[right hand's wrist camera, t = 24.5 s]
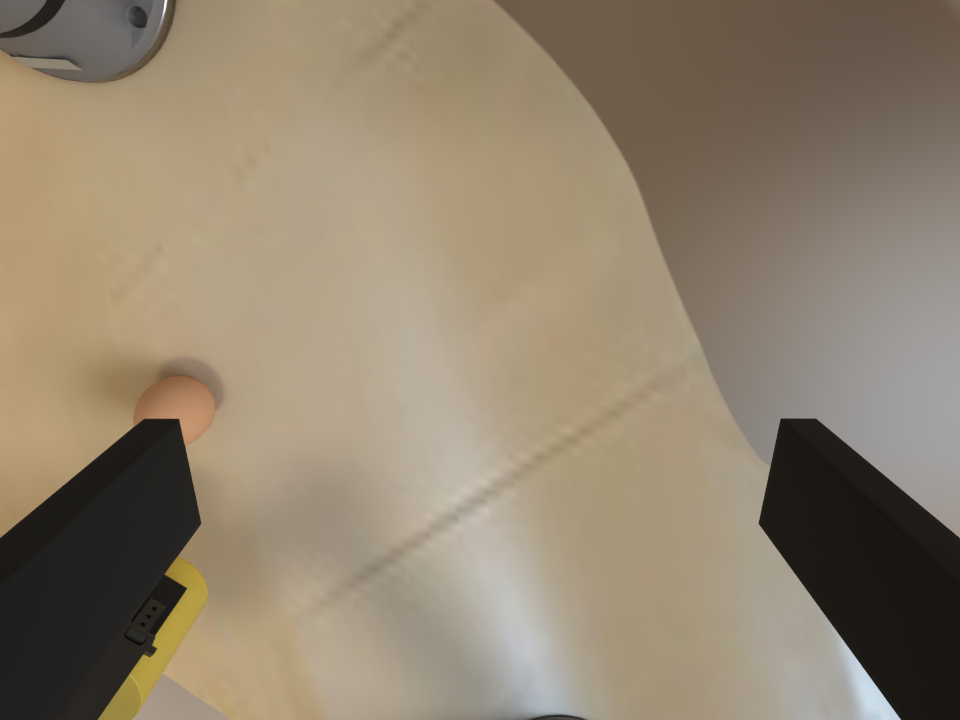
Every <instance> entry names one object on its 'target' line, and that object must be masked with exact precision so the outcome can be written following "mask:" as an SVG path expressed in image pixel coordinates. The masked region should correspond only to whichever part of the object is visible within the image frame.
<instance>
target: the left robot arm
mask: <svg viewBox="0 0 960 720" xmlns="http://www.w3.org/2000/svg"><path fill="white" fill-rule="evenodd" d="M187 589H188V588H186V587H185V586H183V585H181V584H180V583H178V582H176V581H175V580H173V579H171V578H170V577H168V576H166V575H165V574H164V576H163V577H162V578H161V580H160V581H159V583H158V584H157V585H156V587H155V588H154V589H153V591H152V592H151V594H150V595H149V596H148V598H147V599H146V600H145V602H144V603H143V605H142V606H141V607H140V609H139V610H138V611H137V613H136V614H135V616H134V617H133V618H132V620H131V621H130V622H129V624H128V625H127V627H126V628H125V629H124V631H123V632H122V634H121V635H120V636H119V638H118V639H117V640H116V642H115V643H114V645H113V646H112V647H111V649H110V650H109V651H108V653H107V654H106V656H105V657H104V658H103V660H102V661H101V662H100V664H99V665H98V667H97V668H96V669H95V671H94V672H93V673H92V675H91V676H90V678H89V679H88V680H87V682H86V683H85V684H84V686H83V687H82V689H81V690H80V691H79V693H78V694H77V695H76V697H75V698H74V700H73V701H72V702H71V704H70V705H69V707H68V708H67V709H66V711H65V712H64V713H63V715H62V716H61V718H60V719H59V720H98V719H99V717H100V716H101V714H102V713H103V712H104V710H105V709H106V707H107V706H108V704H109V703H110V702H111V700H112V699H113V697H114V696H115V694H116V693H117V692H118V690H119V689H120V687H121V686H122V684H123V683H124V682H125V680H126V679H127V677H128V676H129V674H130V673H131V672H132V670H133V669H134V667H135V666H136V664H137V663H138V661H139V660H140V659H141V657H142V656H143V654H144V655H146V656H148V657H151V656H153V655H154V653H155V652H156V650H157V648H156V647H154V646H153V645H152V644H153V643H154V642H153V641H154V640H155V637H156V636H155V635H156V634H157V632H158V631H159V630H160V628H161V627H162V625H163V624H164V622H165V621H166V619H167V618H168V616H169V615H170V613H171V612H172V611H173V609H174V608H175V606H176V605H177V603H178V602H179V600H180V599H181V597H182V596H183V594H184V593H185V591H186V590H187ZM537 720H581V719H577V718H572V717H547V718H541V719H537Z"/></svg>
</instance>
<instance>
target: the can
mask: <svg viewBox="0 0 960 720" xmlns="http://www.w3.org/2000/svg"><path fill="white" fill-rule="evenodd" d="M165 575H166V576H168V577H170V578H171V579H173V580H175V581H176V582H178V583H180V584H181V585H183V586H185V587H186V588H188V589H187V590H186V591H185V593H184V594H183V596H182V597H181V599H180V600H179V602H178V603H177V605H176V606H175V608H174V609H173V611H172V612H171V613H170V615H169V616H168V618H167V619H166V621H165V622H164V624H163V625H162V627H161V628H160V630H159V631H158V632H157V634H156V635H155V636H156V637H155V640H154V641H153V642H154V643H153V644H152V645H153V646H154V647H156V648H157V650H156V652H155V653H154V655H153V656H151V657H148V656H146V655H144V654H143V656H142V657H141V659H140V660H139V661H138V663H137V664H136V666H135V667H134V669H133V670H132V672H131V673H130V674H129V676H128V677H127V679H126V680H125V682H124V683H123V684H122V686H121V687H120V689H119V690H118V692H117V693H116V694H115V696H114V697H113V699H112V700H111V702H110V703H109V704H108V706H107V707H106V709H105V710H104V712H103V713H102V714H101V716H100V717H99V719H98V720H132V719H133V718H134V717H135V716H136V715H137V713H138V712H139V710H140V709H141V707H142V706H143V704H144V702H145V701H146V699H147V698H148V696H149V694H150V693H151V691H152V689H153V688H154V686H155V685H156V683H157V681H158V680H159V678H160V677H161V675H162V673H163V672H164V670H165V669H166V667H167V665H168V664H169V662H170V661H171V659H172V657H173V656H174V654H175V652H176V651H177V649H178V648H179V646H180V644H181V643H182V641H183V640H184V638H185V636H186V635H187V633H188V631H189V630H190V628H191V627H192V625H193V623H194V622H195V620H196V619H197V617H198V615H199V614H200V612H201V611H202V609H203V607H204V606H205V604H206V601H207V597H208V588H207V584H206V581H205V579H204V578H203V576H202V574H201V573H200V572H199V571H198V570H197V568H195V567H194V566H193V565H192V564H190V563H189V562H188V561H186V560H184V559H182V558H180V557H178V556H177V558H176V559H175V561H174V562H173V563H172V565H171V566H170V567H169V569H168V570H167V572H166V573H165Z"/></svg>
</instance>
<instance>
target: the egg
mask: <svg viewBox="0 0 960 720" xmlns="http://www.w3.org/2000/svg"><path fill="white" fill-rule="evenodd" d="M215 410H216V406H215V399H214V397H213V395H212V392H211V391H210V390H209V388H208V387H207V386H206V385H205V384H204V383H202V382H200V381H199V380H197V379H194V378H191V377H187V376H172V377H168V378H165V379H162V380H160V381H158V382H156V383H155V384H153V385H151V386H150V387H149V388H148V389H147V390H146V391H145V392H144V393H143V394H142V396H141V397H140V399H139V401H138V403H137V405H136V408H135V412H134V427H135V426H136V425H137V424H138V423H139V422H141V421H142V420H143V419H179V420H180V425H181V430H182V434H183V439H184V444H185V445H187V444H189V443H191V442H193V441H195V440H196V439H198V438H199V437H200V436H202V435H203V434H204V433H205V431H206V430H207V429H208V428H209V427H210V425H211V424H212V421H213V419H214V416H215Z"/></svg>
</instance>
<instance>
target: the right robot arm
mask: <svg viewBox="0 0 960 720" xmlns="http://www.w3.org/2000/svg"><path fill="white" fill-rule="evenodd" d="M175 3H176V0H0V49H1V50H3V51H4V52H5V53H7V54H8V55H10V56H11V57H12V58H14V59H16V60H17V61H19V62H21V63H22V64H24V65H26V66H28V67H31V68H33V69H35V70H38V71H40V72H43V73H45V74H48V75H51V76H53V77H57V78H61V79H65V80H72V81H79V82H86V83H104V82H110V81H115V80H119V79H122V78H125V77H127V76H129V75H131V74H133V73H135V72H136V71H138V70H140V69H141V68H142V67H143V66H145V65H146V64H147V63H148V62H149V61H150V60H151V59H152V58H153V57H154V56H155V55H156V53H157V52H158V51H159V49H160V48H161V46H162V44H163V43H164V41H165V39H166V37H167V35H168V32H169V29H170V27H171V24H172V20H173V16H174V11H175ZM200 525H201V520H200V515H199V510H198V505H197V501H196V496H195V491H194V486H193V482H192V477H191V472H190V467H189V463H188V458H187V453H186V448H185V444H184V439H183V434H182V430H181V425H180V420H179V419H143V420H142V421H141V422H139V423H138V424H137V425H136V426H135V427H133V428H132V429H131V430H130V431H129V432H127V433H126V434H125V435H124V436H123V437H121V438H120V439H119V440H118V441H117V442H115V443H114V444H113V445H112V446H111V447H109V448H108V449H107V450H106V451H105V452H103V453H102V454H101V455H100V456H98V457H97V458H96V459H95V460H94V461H92V462H91V463H90V464H89V465H88V466H86V467H85V468H84V469H83V470H82V471H80V472H79V473H78V474H77V475H76V476H74V477H73V478H72V479H71V480H70V481H68V482H67V483H66V484H65V485H64V486H62V487H61V488H60V489H59V490H58V491H56V492H55V493H54V494H53V495H52V496H50V497H49V498H48V499H47V500H45V501H44V502H43V503H42V504H41V505H39V506H38V507H37V508H36V509H35V510H33V511H32V512H31V513H30V514H29V515H27V516H26V517H25V518H24V519H23V520H21V521H20V522H19V523H18V524H17V525H15V526H14V527H13V528H12V529H11V530H9V531H8V532H7V533H6V534H5V535H3V536H2V537H1V538H0V720H59V719H60V718H61V716H62V715H63V713H64V712H65V711H66V709H67V708H68V707H69V705H70V704H71V702H72V701H73V700H74V698H75V697H76V695H77V694H78V693H79V691H80V690H81V689H82V687H83V686H84V684H85V683H86V682H87V680H88V679H89V678H90V676H91V675H92V673H93V672H94V671H95V669H96V668H97V667H98V665H99V664H100V662H101V661H102V660H103V658H104V657H105V656H106V654H107V653H108V651H109V650H110V649H111V647H112V646H113V645H114V643H115V642H116V640H117V639H118V638H119V636H120V635H121V634H122V632H123V631H124V629H125V628H126V627H127V625H128V624H129V622H130V621H131V620H132V618H133V617H134V616H135V614H136V613H137V611H138V610H139V609H140V607H141V606H142V605H143V603H144V602H145V600H146V599H147V598H148V596H149V595H150V594H151V592H152V591H153V589H154V588H155V587H156V585H157V584H158V583H159V581H160V580H161V578H162V577H163V576H164V574H165V573H166V572H167V570H168V569H169V567H170V566H171V565H172V563H173V562H174V561H175V559H176V558H177V556H178V555H179V554H180V552H181V551H182V550H183V548H184V547H185V545H186V544H187V543H188V541H189V540H190V538H191V537H192V536H193V534H194V533H195V532H196V530H197V529H198V527H199V526H200ZM759 525H760V526H761V527H762V529H763V530H764V532H765V533H766V534H767V536H768V537H769V538H770V540H771V541H772V543H773V544H774V545H775V547H776V548H777V550H778V551H779V552H780V554H781V555H782V556H783V558H784V559H785V561H786V562H787V563H788V565H789V566H790V567H791V569H792V570H793V572H794V573H795V574H796V576H797V577H798V578H799V580H800V581H801V583H802V584H803V585H804V587H805V588H806V589H807V591H808V592H809V594H810V595H811V596H812V598H813V599H814V600H815V602H816V603H817V605H818V606H819V607H820V609H821V610H822V611H823V613H824V614H825V616H826V617H827V618H828V620H829V621H830V622H831V624H832V625H833V627H834V628H835V629H836V631H837V632H838V634H839V635H840V636H841V638H842V639H843V640H844V642H845V643H846V645H847V646H848V647H849V649H850V650H851V651H852V653H853V654H854V656H855V657H856V658H857V660H858V661H859V662H860V664H861V665H862V667H863V668H864V669H865V671H866V672H867V673H868V675H869V676H870V678H871V679H872V680H873V682H874V683H875V684H876V686H877V687H878V689H879V690H880V691H881V693H882V694H883V695H884V697H885V698H886V700H887V701H888V702H889V704H890V705H891V707H892V708H893V709H894V711H895V712H896V713H897V715H898V716H899V718H900V719H901V720H960V538H959V537H958V536H957V535H955V534H954V533H953V532H952V531H951V530H949V529H948V528H947V527H946V526H945V525H943V524H942V523H941V522H940V521H939V520H937V519H936V518H935V517H934V516H933V515H931V514H930V513H929V512H928V511H927V510H925V509H924V508H923V507H922V506H921V505H919V504H918V503H917V502H916V501H915V500H913V499H912V498H911V497H910V496H908V495H907V494H906V493H905V492H904V491H902V490H901V489H900V488H899V487H898V486H896V485H895V484H894V483H893V482H892V481H890V480H889V479H888V478H887V477H886V476H884V475H883V474H882V473H881V472H880V471H878V470H877V469H876V468H875V467H874V466H872V465H871V464H870V463H869V462H867V461H866V460H865V459H864V458H863V457H862V456H860V455H859V454H858V453H857V452H855V451H854V450H853V449H852V448H851V447H849V446H848V445H847V444H846V443H845V442H843V441H842V440H841V439H840V438H839V437H837V436H836V435H835V434H834V433H833V432H831V431H830V430H829V429H828V428H827V427H825V426H824V425H823V424H822V423H821V422H819V421H818V420H817V419H781V420H780V425H779V429H778V434H777V439H776V444H775V448H774V453H773V458H772V463H771V467H770V472H769V477H768V482H767V486H766V491H765V496H764V501H763V505H762V510H761V515H760V520H759Z"/></svg>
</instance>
